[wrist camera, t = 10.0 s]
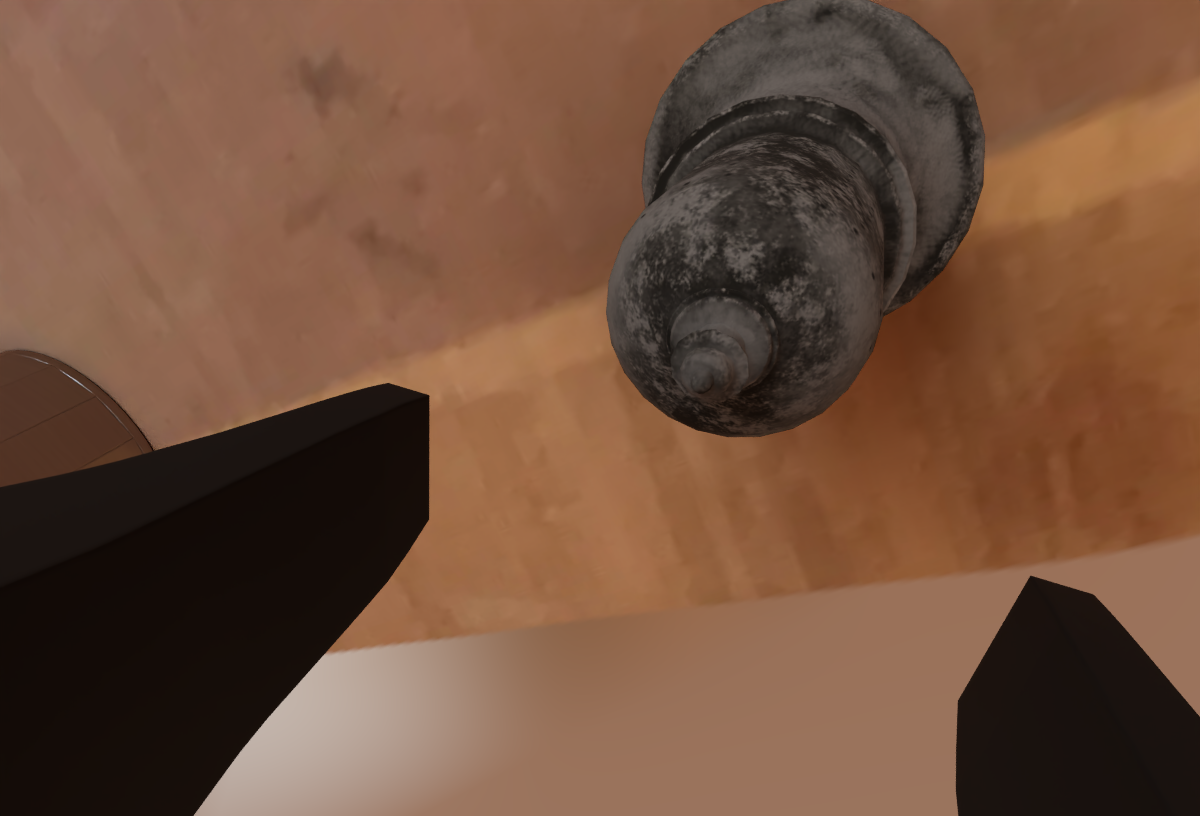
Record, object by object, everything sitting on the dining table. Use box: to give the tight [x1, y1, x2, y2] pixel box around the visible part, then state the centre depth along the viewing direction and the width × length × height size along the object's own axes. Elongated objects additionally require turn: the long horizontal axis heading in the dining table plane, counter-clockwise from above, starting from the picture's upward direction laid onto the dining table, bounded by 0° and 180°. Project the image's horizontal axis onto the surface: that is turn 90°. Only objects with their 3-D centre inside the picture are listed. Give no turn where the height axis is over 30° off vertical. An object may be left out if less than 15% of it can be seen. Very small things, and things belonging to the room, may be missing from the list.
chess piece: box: [606, 0, 985, 437], centre depth 11 cm, size 6×6×12 cm
